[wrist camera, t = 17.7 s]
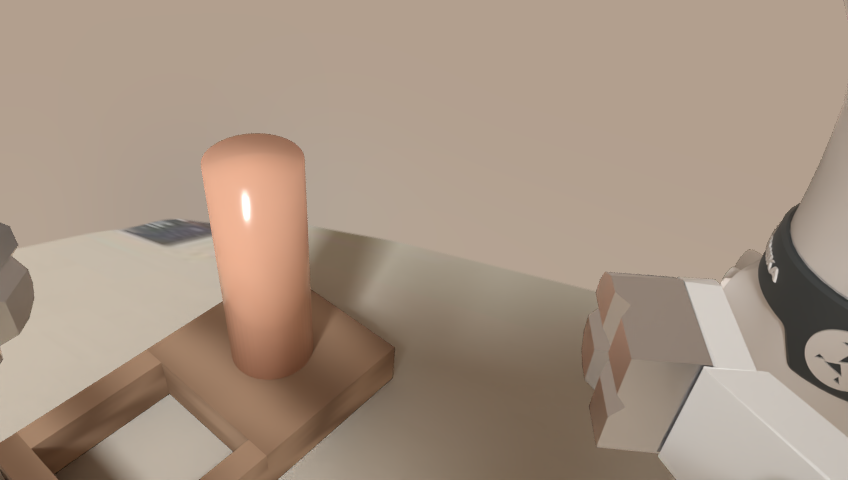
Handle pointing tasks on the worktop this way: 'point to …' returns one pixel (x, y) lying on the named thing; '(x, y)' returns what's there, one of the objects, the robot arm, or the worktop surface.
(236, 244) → the peach cylinder
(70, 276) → the worktop surface
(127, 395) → the partly covered box
